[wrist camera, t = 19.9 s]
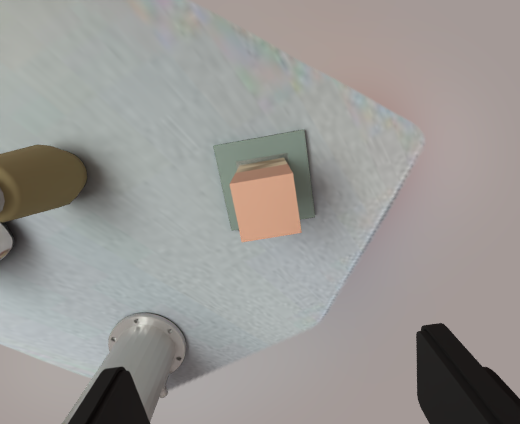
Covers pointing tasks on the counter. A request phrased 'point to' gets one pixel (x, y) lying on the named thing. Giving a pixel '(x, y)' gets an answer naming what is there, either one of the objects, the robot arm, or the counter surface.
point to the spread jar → (5, 240)
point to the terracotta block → (265, 203)
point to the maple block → (261, 165)
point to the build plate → (264, 150)
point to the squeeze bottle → (38, 180)
